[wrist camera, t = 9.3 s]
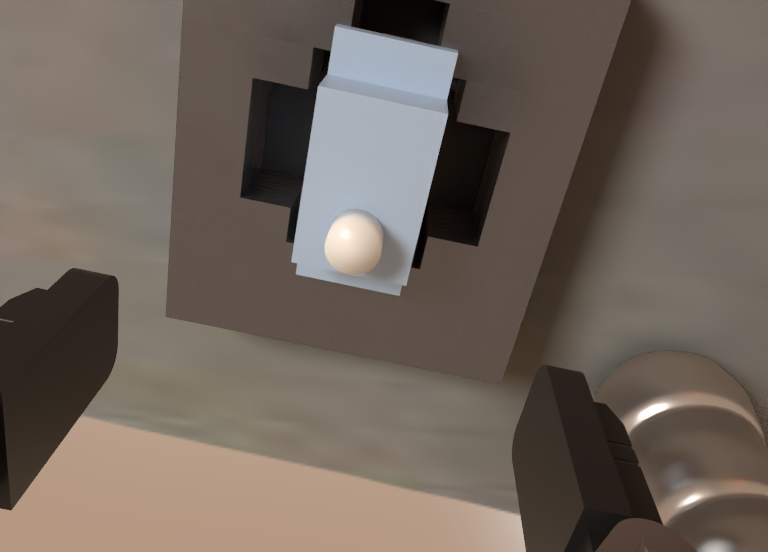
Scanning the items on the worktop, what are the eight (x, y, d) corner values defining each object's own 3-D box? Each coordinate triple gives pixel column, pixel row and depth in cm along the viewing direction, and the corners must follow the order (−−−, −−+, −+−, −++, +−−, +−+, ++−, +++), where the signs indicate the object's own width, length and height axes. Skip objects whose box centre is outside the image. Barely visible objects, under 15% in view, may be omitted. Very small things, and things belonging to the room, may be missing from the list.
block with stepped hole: (223, -125, 23) (190, -135, 20) (614, -38, 24) (643, -34, 21) (192, 277, 30) (165, 316, 27) (493, 339, 31) (500, 384, 28)
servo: (348, 13, 25) (320, 39, 18) (454, 37, 25) (462, 70, 18) (312, 232, 29) (278, 316, 22) (403, 252, 29) (395, 341, 23)
